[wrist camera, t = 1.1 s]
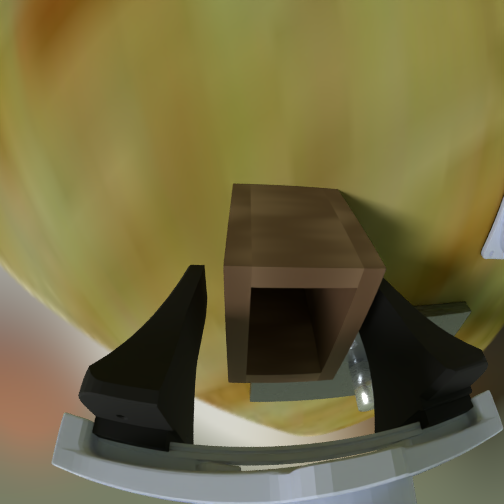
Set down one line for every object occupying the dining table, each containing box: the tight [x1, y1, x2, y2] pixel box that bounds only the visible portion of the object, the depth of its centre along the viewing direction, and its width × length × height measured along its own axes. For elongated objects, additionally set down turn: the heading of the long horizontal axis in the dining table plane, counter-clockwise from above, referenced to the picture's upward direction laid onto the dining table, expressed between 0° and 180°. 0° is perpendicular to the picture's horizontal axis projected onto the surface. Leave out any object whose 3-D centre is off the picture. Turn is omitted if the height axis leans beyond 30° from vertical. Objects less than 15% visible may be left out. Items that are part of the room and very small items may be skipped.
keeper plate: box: [250, 302, 471, 411], centre depth 20 cm, size 18×12×5 cm, turn 88°
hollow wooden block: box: [224, 184, 386, 383], centre depth 12 cm, size 5×7×6 cm
